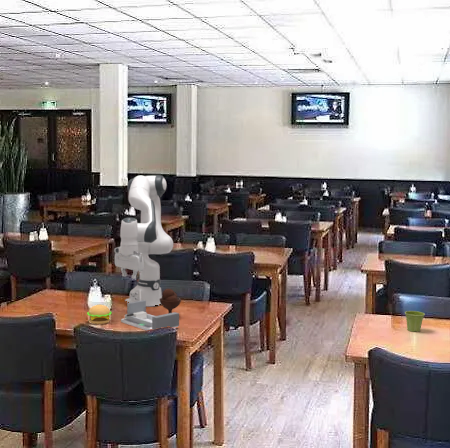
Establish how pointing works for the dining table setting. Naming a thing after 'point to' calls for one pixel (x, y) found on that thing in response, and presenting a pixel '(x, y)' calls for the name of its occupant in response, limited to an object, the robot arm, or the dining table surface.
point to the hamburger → (99, 314)
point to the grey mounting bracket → (153, 321)
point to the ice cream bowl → (169, 300)
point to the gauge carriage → (137, 309)
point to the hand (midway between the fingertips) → (129, 277)
